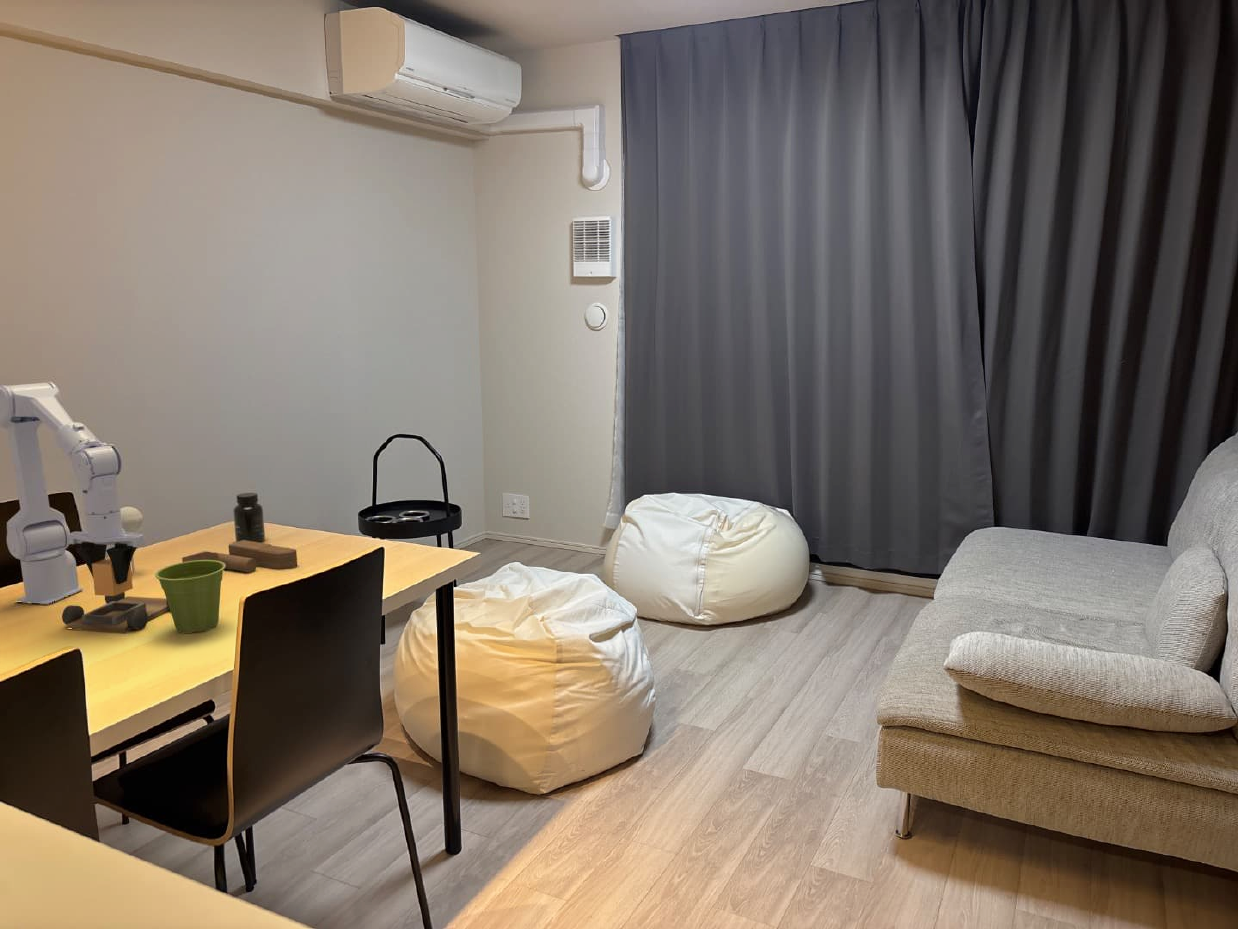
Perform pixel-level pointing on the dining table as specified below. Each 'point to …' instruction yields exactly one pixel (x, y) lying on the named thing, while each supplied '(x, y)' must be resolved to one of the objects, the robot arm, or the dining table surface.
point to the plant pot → (193, 593)
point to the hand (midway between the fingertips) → (111, 581)
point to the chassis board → (116, 614)
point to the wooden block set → (250, 556)
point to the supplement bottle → (248, 518)
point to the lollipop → (131, 522)
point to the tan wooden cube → (108, 579)
